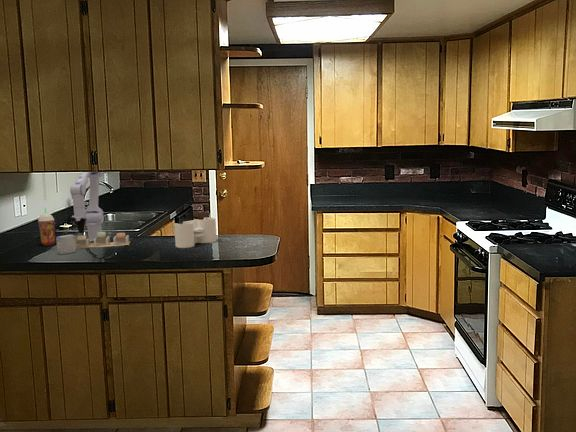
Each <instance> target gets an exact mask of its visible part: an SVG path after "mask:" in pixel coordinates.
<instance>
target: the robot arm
mask: <svg viewBox="0 0 576 432" xmlns="http://www.w3.org/2000/svg"><path fill="white" fill-rule="evenodd" d="M102 175H103V171H102V172H82V171H81V173H80V175H78V176H77V178H76V180H75V181H74V184H72V185H70V187H69V192H70V195H71V200H72V204H73V205H72V206H73V215H72V216H71V218H74V219H73V221H74V223H75V225H76V228H77V231H78V234H83V233H85V226H87V236H88V237H87V238H90V242H94V238H95V237H97V232H103V230H102V224H103V223H104V219H105V216H104V210H103V209H102V208H100V207H99V194H100V193H99V192H100V191H99V189H100V178H101V177H102ZM88 182H89V197H88V207H87V208H86V203H85V194H86V190H87V184H88Z"/></svg>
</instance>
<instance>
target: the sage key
mask: <svg viewBox="0 0 576 432" xmlns="http://www.w3.org/2000/svg"><path fill="white" fill-rule="evenodd" d="M106 237H107V233H106V231H102V232H97V239H105V238H106Z"/></svg>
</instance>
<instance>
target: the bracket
mask: <svg viewBox="0 0 576 432" xmlns="http://www.w3.org/2000/svg"><path fill="white" fill-rule="evenodd" d="M173 225H174V241H175V243H174V244H175V248H179V249H187V248H193V247H195V244H197V243H198V244H211V243H215V242H217V225H216V218H215V217H203V219H193V220H188V221H187V220H186V221H182V223H173Z"/></svg>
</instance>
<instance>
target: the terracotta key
mask: <svg viewBox="0 0 576 432" xmlns="http://www.w3.org/2000/svg"><path fill="white" fill-rule="evenodd" d="M125 235H126V232H117V233H116V236H117V238H121V237H125Z"/></svg>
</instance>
